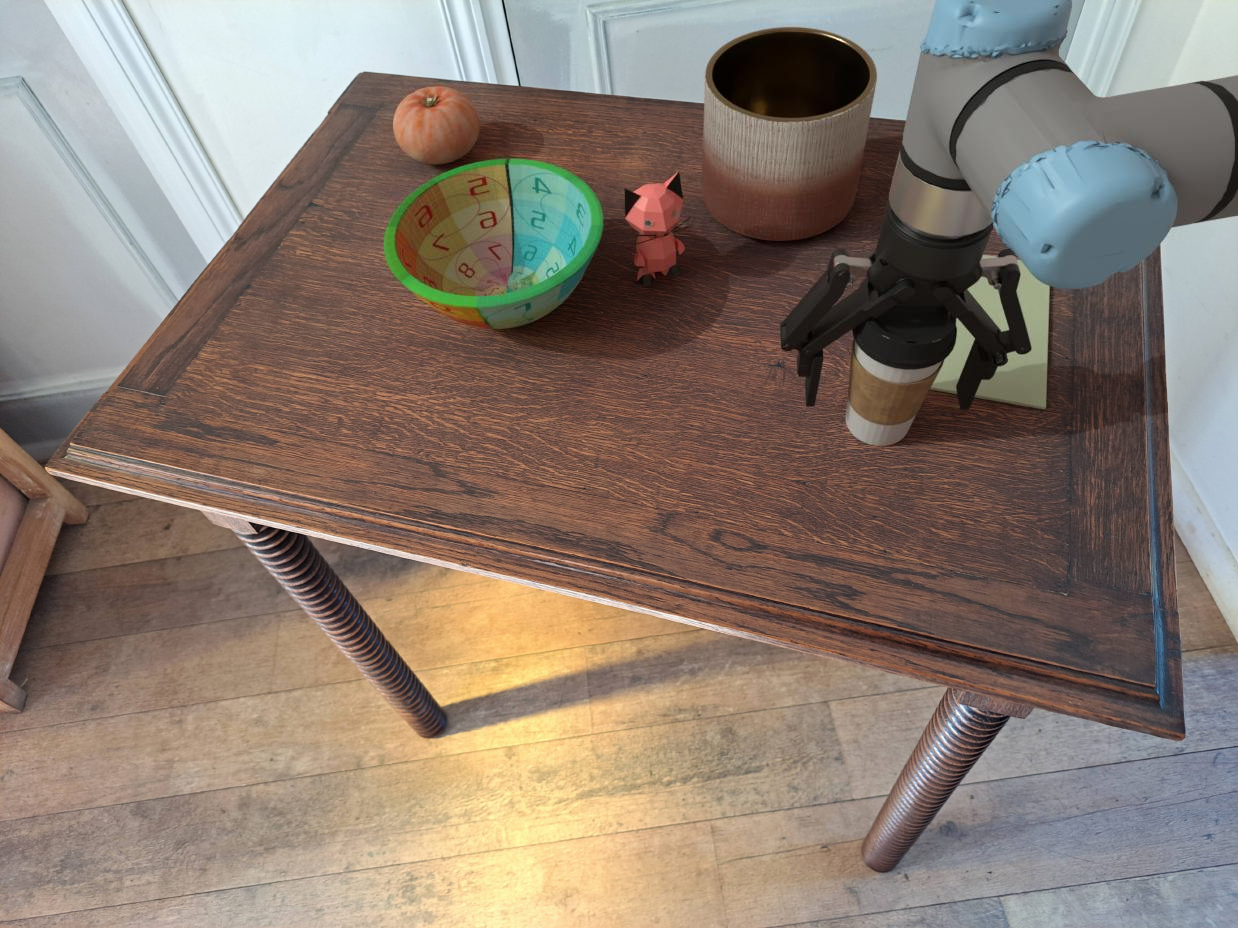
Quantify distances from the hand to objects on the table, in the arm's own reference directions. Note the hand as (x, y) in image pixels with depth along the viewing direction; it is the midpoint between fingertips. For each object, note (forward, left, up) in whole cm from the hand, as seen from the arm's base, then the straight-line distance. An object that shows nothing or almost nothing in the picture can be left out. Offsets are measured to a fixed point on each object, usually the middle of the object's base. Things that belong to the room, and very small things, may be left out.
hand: (885, 396), depth 78 cm
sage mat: (+6, -16, -4) cm, 17 cm away
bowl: (+33, +25, -4) cm, 42 cm away
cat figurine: (+29, +9, -4) cm, 31 cm away
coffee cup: (0, 0, -4) cm, 4 cm away
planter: (+33, -9, -4) cm, 34 cm away
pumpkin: (+62, +23, -4) cm, 66 cm away
